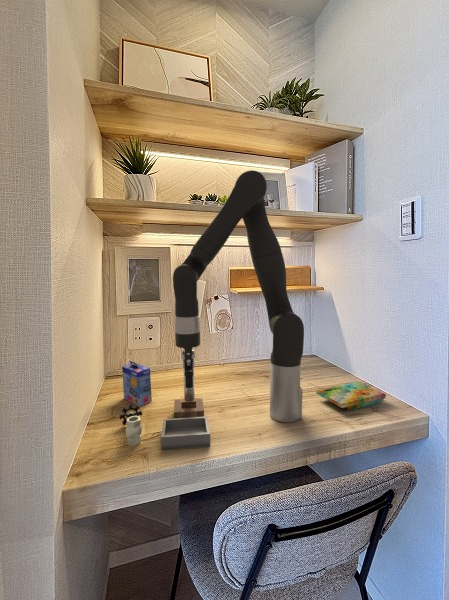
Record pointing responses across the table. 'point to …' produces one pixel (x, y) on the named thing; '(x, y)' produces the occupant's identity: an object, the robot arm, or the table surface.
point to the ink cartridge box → (137, 383)
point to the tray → (185, 433)
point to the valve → (132, 425)
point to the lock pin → (189, 390)
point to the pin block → (188, 408)
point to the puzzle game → (352, 395)
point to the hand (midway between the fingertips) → (189, 384)
